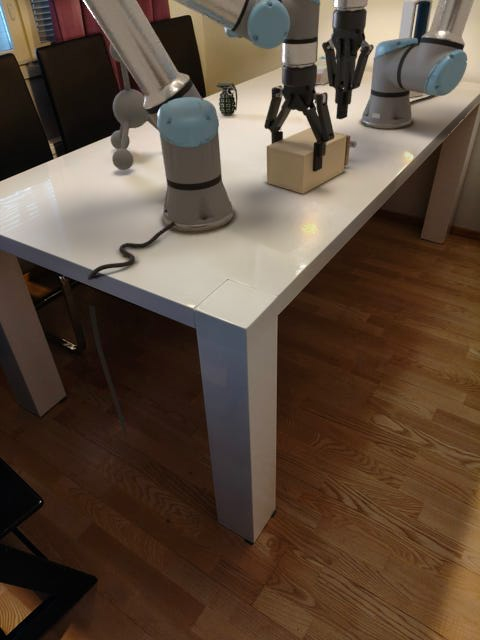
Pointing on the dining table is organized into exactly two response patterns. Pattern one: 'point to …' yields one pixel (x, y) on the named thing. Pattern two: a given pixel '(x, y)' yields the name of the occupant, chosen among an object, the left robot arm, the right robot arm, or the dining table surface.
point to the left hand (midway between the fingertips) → (297, 164)
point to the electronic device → (420, 26)
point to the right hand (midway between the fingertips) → (341, 117)
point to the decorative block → (321, 70)
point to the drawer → (348, 145)
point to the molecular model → (126, 117)
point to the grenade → (227, 99)
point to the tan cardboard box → (303, 161)
